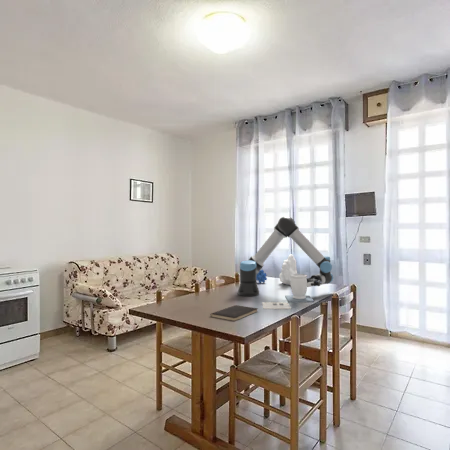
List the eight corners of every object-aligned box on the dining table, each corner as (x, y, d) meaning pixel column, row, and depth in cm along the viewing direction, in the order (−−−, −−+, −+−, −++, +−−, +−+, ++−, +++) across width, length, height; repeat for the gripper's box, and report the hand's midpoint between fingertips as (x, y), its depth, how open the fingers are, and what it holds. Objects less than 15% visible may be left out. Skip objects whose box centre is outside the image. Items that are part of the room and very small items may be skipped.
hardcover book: (257, 312, 189) (257, 308, 189) (235, 322, 171) (234, 317, 171) (234, 308, 199) (234, 304, 199) (210, 317, 180) (210, 313, 180)
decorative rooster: (287, 281, 290) (286, 253, 291) (303, 283, 280) (302, 253, 280) (270, 285, 272) (270, 255, 272) (287, 287, 261) (286, 256, 262)
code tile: (263, 308, 195) (263, 308, 195) (262, 302, 211) (262, 302, 211) (291, 308, 194) (291, 308, 194) (287, 302, 210) (287, 302, 210)
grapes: (252, 283, 285) (252, 269, 285) (254, 282, 291) (254, 268, 291) (265, 284, 280) (265, 269, 280) (267, 282, 286) (267, 268, 286)
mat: (288, 302, 212) (288, 300, 212) (285, 296, 227) (285, 295, 227) (313, 302, 210) (313, 300, 210) (309, 296, 226) (309, 295, 226)
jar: (295, 300, 213) (295, 276, 213) (288, 296, 222) (287, 274, 223) (310, 298, 215) (310, 275, 215) (302, 295, 225) (302, 273, 225)
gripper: (333, 287, 223) (315, 292, 209) (302, 283, 242) (283, 287, 228) (333, 276, 223) (314, 280, 209) (302, 272, 242) (283, 276, 228)
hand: (298, 283), depth 218 cm, fingers open, 13 cm apart
